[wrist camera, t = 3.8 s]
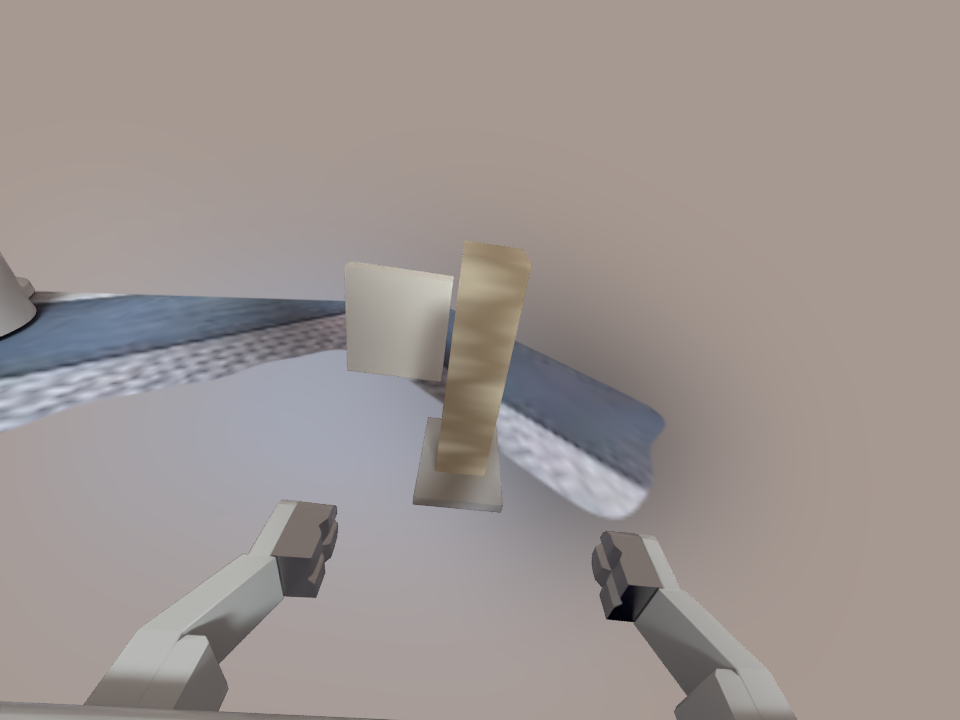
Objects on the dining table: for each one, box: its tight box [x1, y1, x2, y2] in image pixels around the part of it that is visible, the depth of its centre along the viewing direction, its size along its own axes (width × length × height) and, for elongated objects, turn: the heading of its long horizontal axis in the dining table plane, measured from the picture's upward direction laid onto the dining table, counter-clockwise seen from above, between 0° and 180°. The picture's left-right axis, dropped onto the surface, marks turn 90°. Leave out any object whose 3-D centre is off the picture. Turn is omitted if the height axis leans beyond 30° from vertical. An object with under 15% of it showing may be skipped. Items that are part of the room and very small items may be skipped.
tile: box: [344, 261, 454, 382], centre depth 29 cm, size 8×2×9 cm, turn 90°
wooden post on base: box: [413, 240, 531, 512], centre depth 20 cm, size 5×7×14 cm
